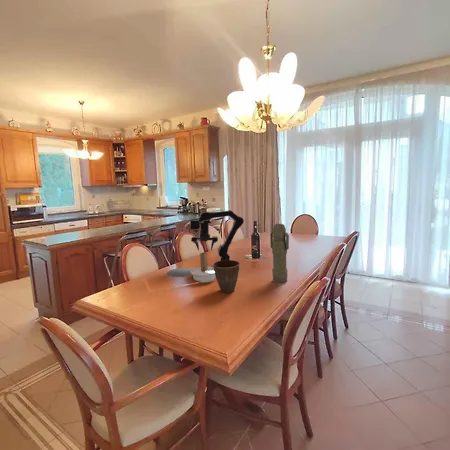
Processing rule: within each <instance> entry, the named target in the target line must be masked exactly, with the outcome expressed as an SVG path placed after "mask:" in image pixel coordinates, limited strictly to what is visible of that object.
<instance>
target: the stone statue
mask: <svg viewBox="0 0 450 450" xmlns="http://www.w3.org/2000/svg"><path fill="white" fill-rule="evenodd" d="M269 236H270V238H269V239H270V241H269V242H270V248H271V251H272V258H273V259H272V264H273V265H272V267H273V268H272V282H274V283H277V284H285V283H287V282H288V268H287V254H288V251H289V244H290V243H289V241H290V240H289V239H290V235H289V232H287V228H286V227H285V224H283V223H275V224H274V225H273V227H272V231H271V232H270V234H269Z"/></svg>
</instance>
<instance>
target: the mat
mask: <svg viewBox="0 0 450 450" xmlns="http://www.w3.org/2000/svg"><path fill="white" fill-rule="evenodd" d="M192 269H194V268H191V267H178V268H177V267H176V268H173V269H170V270H169V271H167V272H166V275H167V276H168V277H174V278H182V277H189V276H193V275H192V274H191V273H190V271H191V270H192Z"/></svg>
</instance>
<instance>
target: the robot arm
mask: <svg viewBox="0 0 450 450" xmlns="http://www.w3.org/2000/svg"><path fill="white" fill-rule="evenodd" d="M224 217H230V218H231V219H232V220H233V221H232V227H231V228H230V230H229V233H228V234H227V237H226V238H225V240H224V242H223V243H222V245H221V244H219V247H218V248H217V254H218V256H219V257H220V260H219V261H222V260H231V258H230V255H229V253H228V251H229V247H230V245H231V243H232V240H233V239H234V237H235V235H236V234H237V232H238V230H239V229H240V228H241V226H242V225H244V222H245V219H244V218H243V217H242V216H239V215H237V214H236V213H235V212H233V210H230V209H229V210H222V211H201V213H200V214H199V217H198V219H195V220H192V219H190V224H189V228H190V229H189V230H191V231H196V230H199V229H200V234H199V235H200V236H199V237H198V236H196V235H195V236H192V237H191V238H190V240H191V242H192V243H194V244H195V246H196V249H197V251H198V252H199V251H200V250H199V249H200V246H199V241H200V242H208V241H211V246H210V251H212V250H213V248H214V247H213V246H214V245H215V243H218V242H219V237H218V236H212V237H211V234H210V233H209V228H210V226H209V225H210V224H212V222H211V219H213V218H214V219H215V218H224Z"/></svg>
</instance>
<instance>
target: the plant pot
mask: <svg viewBox="0 0 450 450" xmlns="http://www.w3.org/2000/svg"><path fill="white" fill-rule="evenodd" d="M212 267H214V272H215V276H216V278H215V280H216V282H217V284H218V287H219V289H220V291H221V293H224V294H229V293H233V292H234V291H235V288H236V286H237V282H238V279H239V278H238V277H239V271H240V262H239V261H238V260H234V259H230V260H222V261H220V260H218V261H215V262H213V264H212Z"/></svg>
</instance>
